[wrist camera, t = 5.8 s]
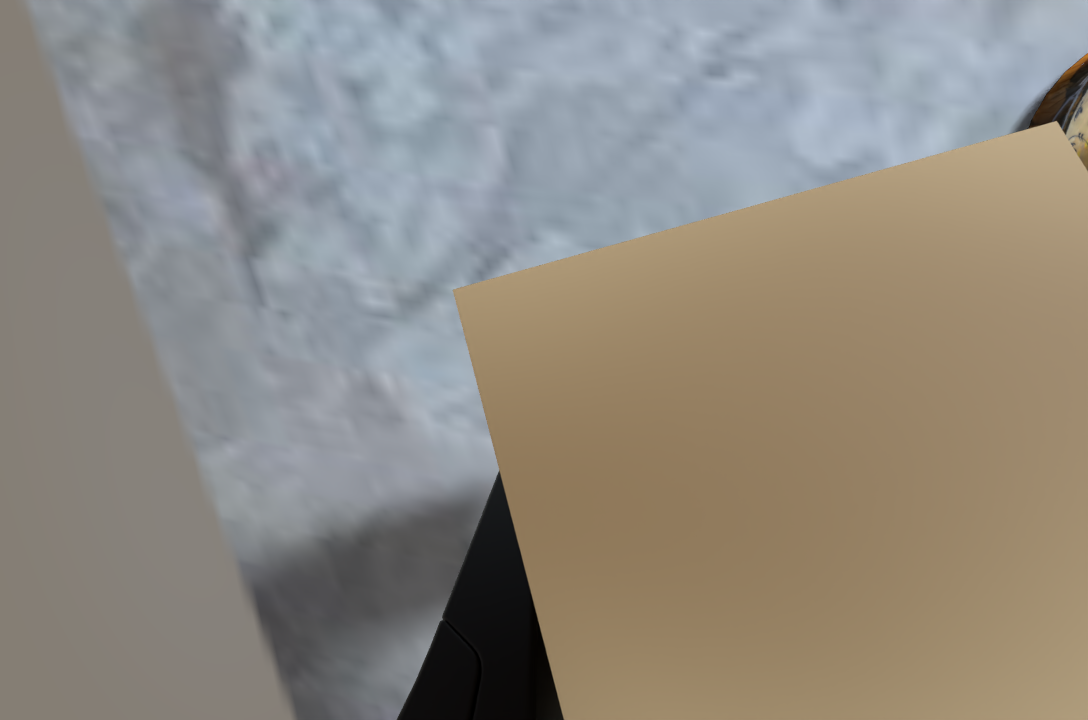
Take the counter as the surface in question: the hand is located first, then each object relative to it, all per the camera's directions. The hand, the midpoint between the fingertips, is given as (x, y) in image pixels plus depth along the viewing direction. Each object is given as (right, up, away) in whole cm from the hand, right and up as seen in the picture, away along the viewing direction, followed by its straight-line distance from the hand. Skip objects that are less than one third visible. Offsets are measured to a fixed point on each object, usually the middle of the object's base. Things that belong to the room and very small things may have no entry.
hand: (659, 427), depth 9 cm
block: (+1, -3, +6) cm, 7 cm away
